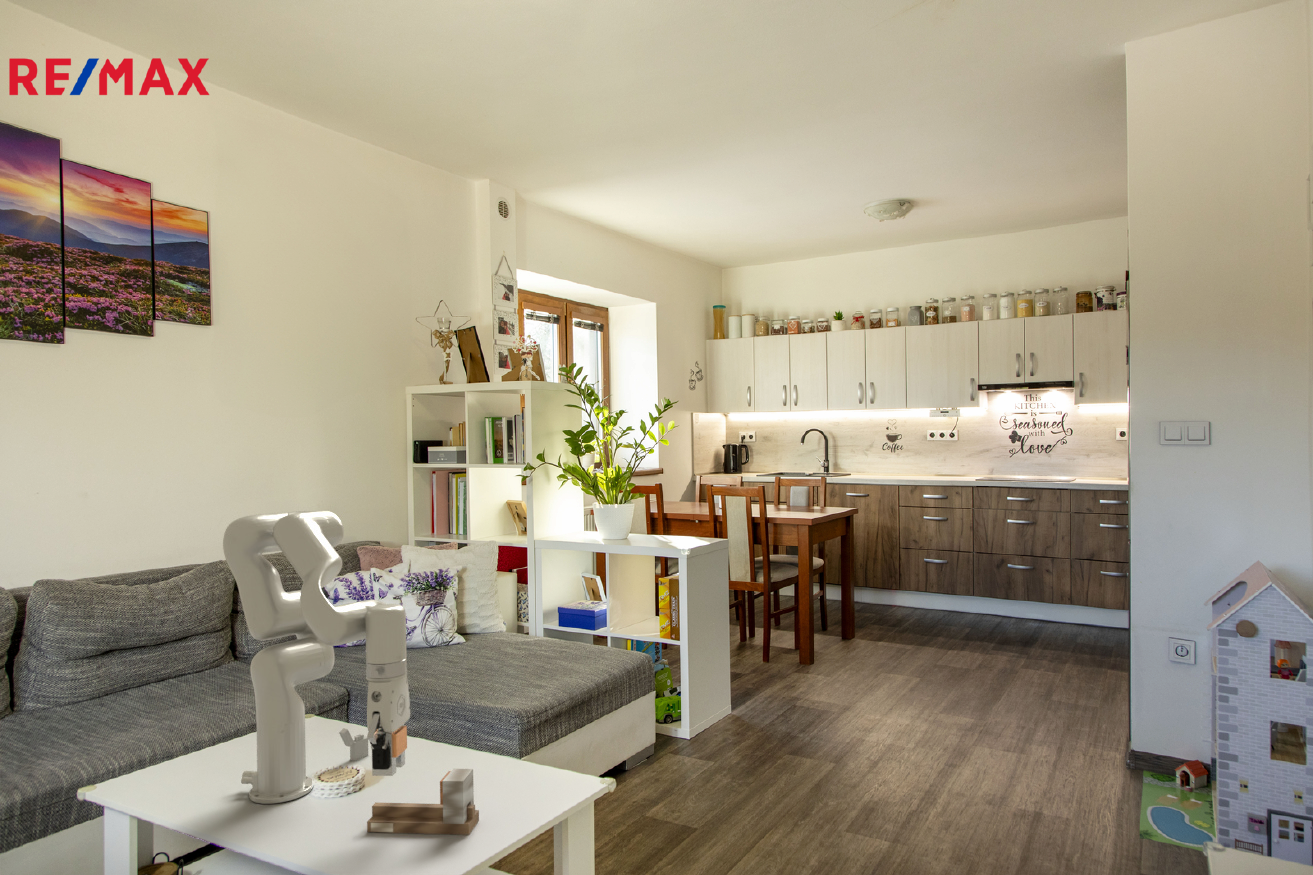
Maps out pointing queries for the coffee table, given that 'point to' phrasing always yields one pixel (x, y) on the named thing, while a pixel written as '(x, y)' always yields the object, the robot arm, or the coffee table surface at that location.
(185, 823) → the coffee table surface
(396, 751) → the white and wooden block
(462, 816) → the rail
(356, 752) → the lighter
